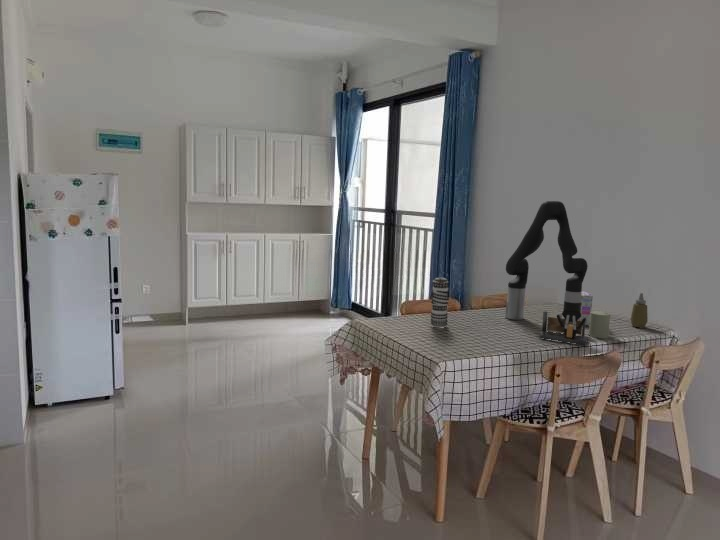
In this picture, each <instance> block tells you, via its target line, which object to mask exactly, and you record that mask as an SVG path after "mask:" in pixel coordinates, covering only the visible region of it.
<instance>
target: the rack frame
mask: <svg viewBox="0 0 720 540" xmlns="http://www.w3.org/2000/svg"><path fill="white" fill-rule="evenodd" d="M548 314H549V313H548V311H545V310H544V311H542V327H541V328H542V329H541V332H543V331H546V332H547V331H548V332H556V333H563V334H564V332H557V331H549V330H547V324H548ZM585 322H586V320H585ZM585 322H584V323H583V326H582V332H581V335H582V336H584V337H585V333H586V326H585Z"/></svg>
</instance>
